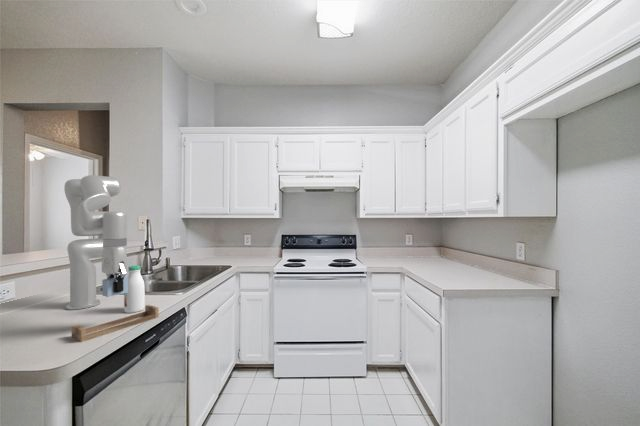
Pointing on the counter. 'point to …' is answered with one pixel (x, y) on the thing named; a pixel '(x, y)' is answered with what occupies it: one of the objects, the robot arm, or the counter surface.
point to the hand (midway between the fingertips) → (115, 290)
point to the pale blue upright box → (108, 287)
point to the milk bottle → (134, 291)
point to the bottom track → (81, 332)
